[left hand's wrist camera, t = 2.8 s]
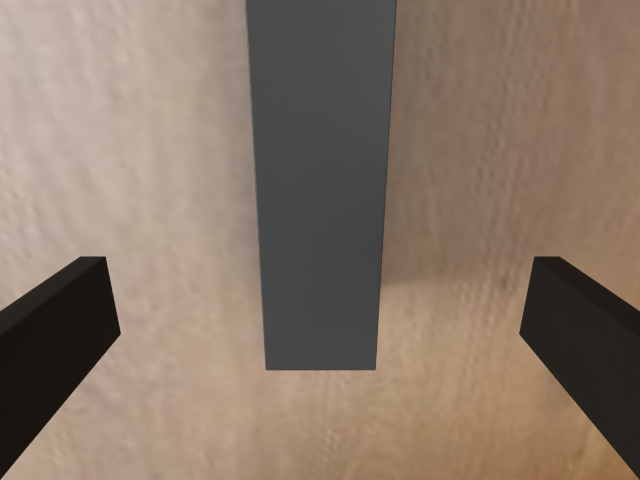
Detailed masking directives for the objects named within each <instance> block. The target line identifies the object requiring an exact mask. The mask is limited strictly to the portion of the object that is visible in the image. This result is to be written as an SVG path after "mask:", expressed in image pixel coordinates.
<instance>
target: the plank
mask: <svg viewBox="0 0 640 480" xmlns="http://www.w3.org/2000/svg"><path fill="white" fill-rule="evenodd" d="M396 4H397V0H245V7H246V25H247V43H248V61H249V79H250V97H251V115H252V133H253V151H254V168H255V186H256V204H257V222H258V240H259V258H260V276H261V294H262V312H263V330H264V348H265V366H266V370H375V369H376V354H377V336H378V319H379V301H380V284H381V266H382V249H383V231H384V214H385V196H386V179H387V161H388V144H389V126H390V109H391V91H392V74H393V56H394V39H395V21H396Z"/></svg>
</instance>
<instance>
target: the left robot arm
mask: <svg viewBox="0 0 640 480" xmlns="http://www.w3.org/2000/svg"><path fill="white" fill-rule="evenodd" d="M120 334H121V332H120V327H119V322H118V317H117V312H116V307H115V302H114V297H113V292H112V287H111V282H110V277H109V272H108V267H107V261H106V257H79V258H78V259H76V260H75V261H73V262H72V263H70V264H69V265H67V266H66V267H64V268H63V269H62V270H60V271H59V272H57V273H56V274H54V275H53V276H51V277H50V278H48V279H47V280H45V281H44V282H42V283H41V284H40V285H38V286H37V287H35V288H34V289H32V290H31V291H29V292H28V293H26V294H25V295H23V296H22V297H20V298H19V299H18V300H16V301H15V302H13V303H12V304H10V305H9V306H7V307H6V308H4V309H3V310H1V311H0V479H1V478H2V477H3V476H4V475H5V473H6V472H7V471H8V470H9V469H10V467H11V466H12V465H13V464H14V463H15V461H16V460H17V459H18V458H19V456H20V455H21V454H22V453H23V452H24V450H25V449H26V448H27V447H28V446H29V444H30V443H31V442H32V441H33V440H34V438H35V437H36V436H37V435H38V434H39V432H40V431H41V430H42V429H43V427H44V426H45V425H46V424H47V423H48V421H49V420H50V419H51V418H52V417H53V415H54V414H55V413H56V412H57V411H58V409H59V408H60V407H61V406H62V404H63V403H64V402H65V401H66V400H67V398H68V397H69V396H70V395H71V394H72V392H73V391H74V390H75V389H76V388H77V386H78V385H79V384H80V383H81V382H82V380H83V379H84V378H85V377H86V375H87V374H88V373H89V372H90V371H91V369H92V368H93V367H94V366H95V365H96V363H97V362H98V361H99V360H100V359H101V357H102V356H103V355H104V354H105V352H106V351H107V350H108V349H109V348H110V346H111V345H112V344H113V343H114V342H115V340H116V339H117V338H118V337H119V336H120ZM519 334H520V336H521V337H522V338H523V339H524V340H525V342H526V343H527V344H528V345H529V346H530V348H531V349H532V350H533V351H534V352H535V354H536V355H537V356H538V357H539V359H540V360H541V361H542V362H543V363H544V365H545V366H546V367H547V368H548V369H549V371H550V372H551V373H552V374H553V375H554V377H555V378H556V379H557V380H558V382H559V383H560V384H561V385H562V386H563V388H564V389H565V390H566V391H567V392H568V394H569V395H570V396H571V397H572V398H573V400H574V401H575V402H576V403H577V404H578V406H579V407H580V408H581V409H582V411H583V412H584V413H585V414H586V415H587V417H588V418H589V419H590V420H591V421H592V423H593V424H594V425H595V426H596V427H597V429H598V430H599V431H600V432H601V434H602V435H603V436H604V437H605V438H606V440H607V441H608V442H609V443H610V444H611V446H612V447H613V448H614V449H615V450H616V452H617V453H618V454H619V455H620V456H621V458H622V459H623V460H624V461H625V463H626V464H627V465H628V466H629V467H630V469H631V470H632V471H633V472H634V473H635V475H636V476H637V477H638V478H639V479H640V311H639V310H637V309H636V308H634V307H633V306H631V305H630V304H628V303H627V302H625V301H624V300H622V299H621V298H620V297H618V296H617V295H615V294H614V293H612V292H611V291H609V290H608V289H606V288H605V287H603V286H602V285H600V284H599V283H598V282H596V281H595V280H593V279H592V278H590V277H589V276H587V275H586V274H584V273H583V272H581V271H580V270H578V269H577V268H576V267H574V266H573V265H571V264H570V263H568V262H567V261H565V260H564V259H562V258H561V257H534V261H533V267H532V272H531V277H530V282H529V287H528V292H527V297H526V302H525V307H524V312H523V317H522V322H521V327H520V332H519Z"/></svg>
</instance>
